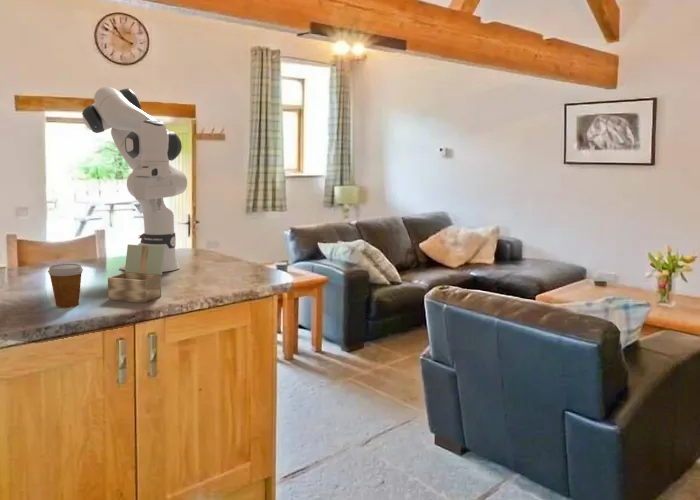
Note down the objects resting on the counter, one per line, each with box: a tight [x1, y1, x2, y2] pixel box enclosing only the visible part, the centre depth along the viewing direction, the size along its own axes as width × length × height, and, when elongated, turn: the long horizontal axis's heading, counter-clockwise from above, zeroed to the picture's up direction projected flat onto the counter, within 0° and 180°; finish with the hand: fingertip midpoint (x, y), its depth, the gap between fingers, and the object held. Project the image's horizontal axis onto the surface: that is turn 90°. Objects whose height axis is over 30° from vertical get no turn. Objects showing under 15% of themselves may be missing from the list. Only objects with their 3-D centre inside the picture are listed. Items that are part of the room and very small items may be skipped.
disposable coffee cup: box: [47, 263, 84, 309], centre depth 185 cm, size 10×10×12 cm
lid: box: [124, 244, 165, 276], centre depth 201 cm, size 13×9×1 cm
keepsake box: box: [107, 271, 162, 304], centre depth 196 cm, size 13×9×7 cm
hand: (156, 212), depth 206 cm, fingers closed
